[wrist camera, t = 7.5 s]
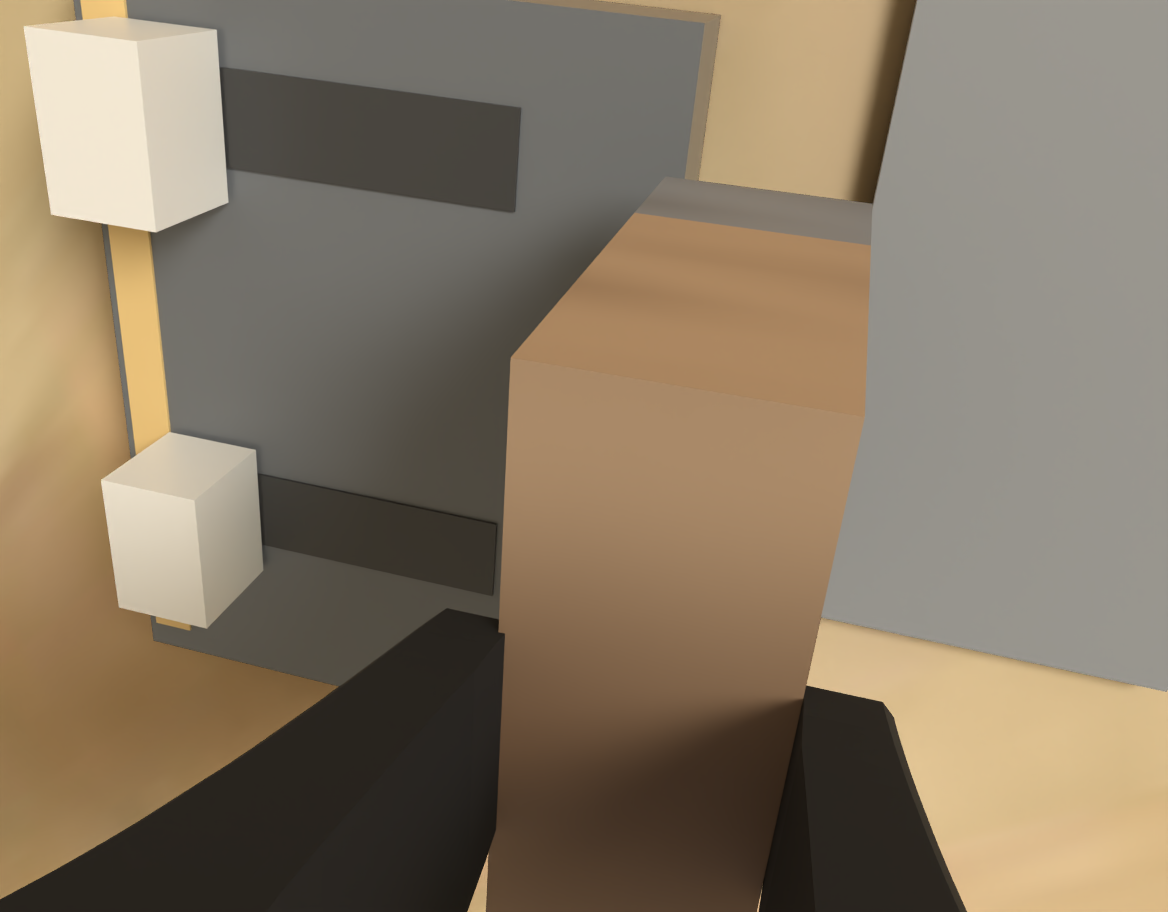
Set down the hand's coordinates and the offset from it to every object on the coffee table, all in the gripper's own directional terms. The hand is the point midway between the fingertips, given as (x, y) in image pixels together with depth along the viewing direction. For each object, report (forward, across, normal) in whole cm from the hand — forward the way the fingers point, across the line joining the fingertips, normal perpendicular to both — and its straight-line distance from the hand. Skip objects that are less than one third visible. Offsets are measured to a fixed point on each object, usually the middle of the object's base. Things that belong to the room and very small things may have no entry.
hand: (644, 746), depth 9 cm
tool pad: (+9, -4, -2) cm, 10 cm away
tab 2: (+7, +9, +3) cm, 12 cm away
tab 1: (+7, +9, -3) cm, 12 cm away
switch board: (+9, +6, +1) cm, 11 cm away
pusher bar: (+6, 0, 0) cm, 6 cm away
